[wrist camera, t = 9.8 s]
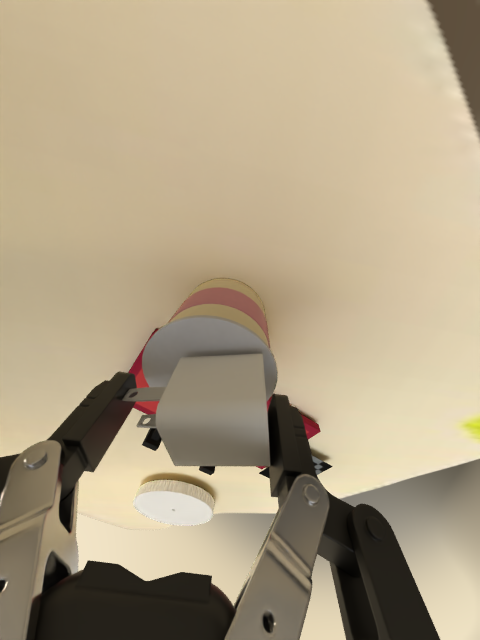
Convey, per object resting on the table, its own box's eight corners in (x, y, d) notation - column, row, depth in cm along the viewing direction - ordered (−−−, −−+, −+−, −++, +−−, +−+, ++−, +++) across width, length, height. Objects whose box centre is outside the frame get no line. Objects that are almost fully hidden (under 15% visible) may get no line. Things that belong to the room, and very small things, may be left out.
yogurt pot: (182, 268, 17) (133, 306, 10) (277, 282, 17) (293, 330, 10) (182, 345, 21) (147, 411, 14) (259, 356, 21) (263, 427, 14)
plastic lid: (125, 476, 35) (117, 494, 33) (198, 469, 33) (194, 487, 31) (161, 510, 42) (156, 527, 39) (225, 506, 39) (223, 524, 37)
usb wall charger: (265, 399, 12) (270, 473, 9) (159, 402, 13) (126, 472, 10) (262, 347, 11) (267, 415, 7) (138, 353, 11) (88, 418, 8)
